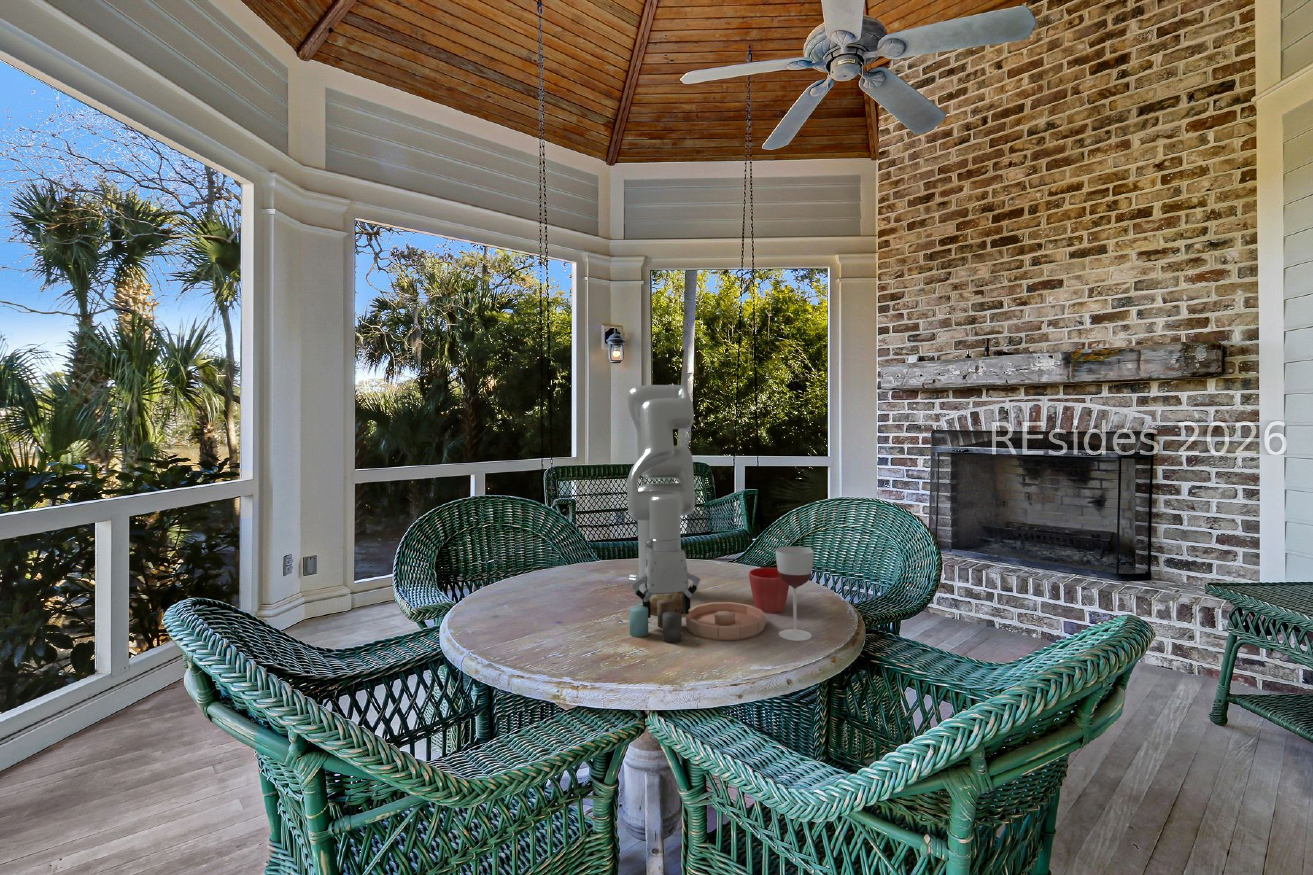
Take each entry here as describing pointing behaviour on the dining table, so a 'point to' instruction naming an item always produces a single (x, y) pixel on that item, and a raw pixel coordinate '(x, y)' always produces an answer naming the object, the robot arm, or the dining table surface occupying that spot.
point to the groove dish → (725, 621)
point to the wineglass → (794, 580)
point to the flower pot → (768, 590)
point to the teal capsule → (638, 621)
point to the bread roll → (672, 596)
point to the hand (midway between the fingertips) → (666, 614)
